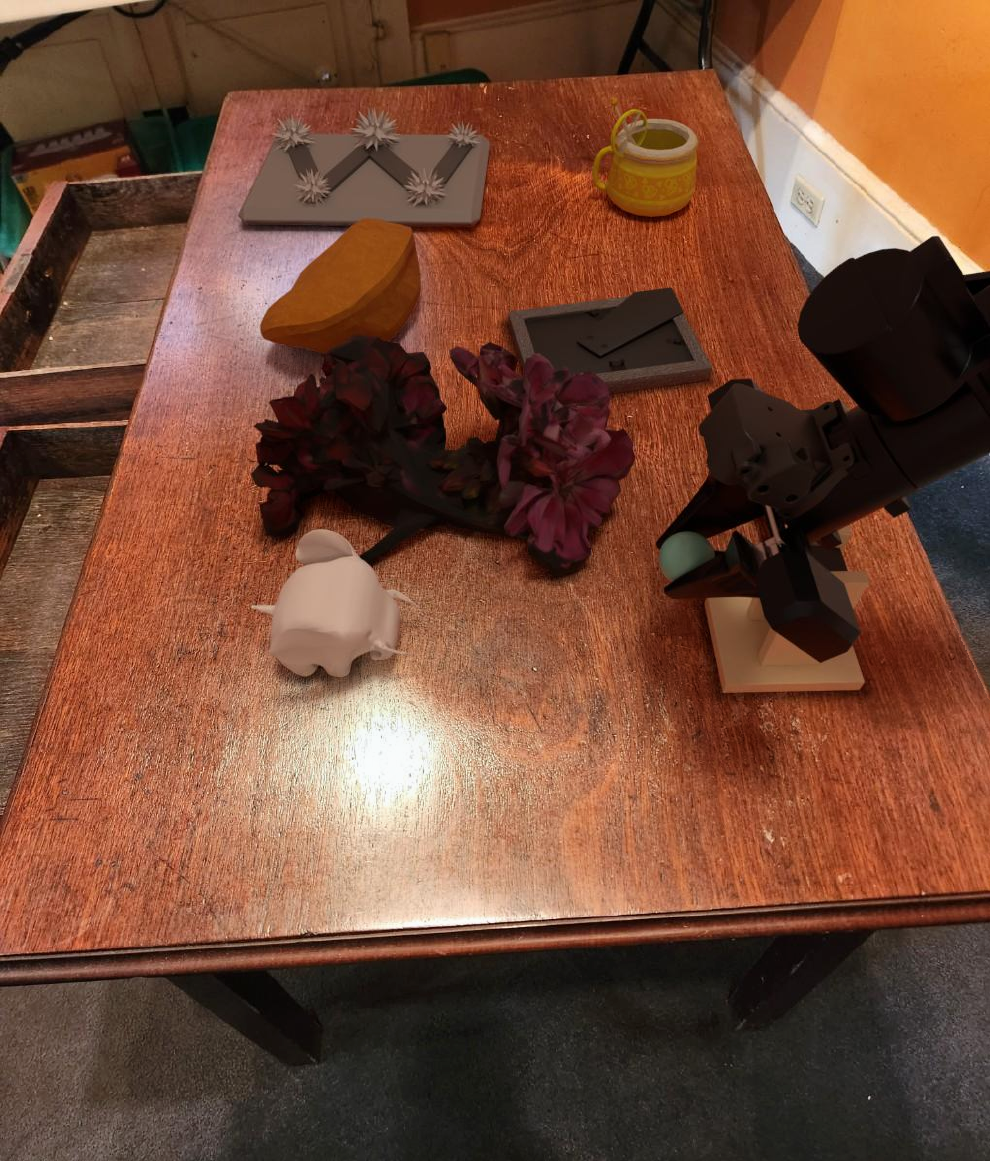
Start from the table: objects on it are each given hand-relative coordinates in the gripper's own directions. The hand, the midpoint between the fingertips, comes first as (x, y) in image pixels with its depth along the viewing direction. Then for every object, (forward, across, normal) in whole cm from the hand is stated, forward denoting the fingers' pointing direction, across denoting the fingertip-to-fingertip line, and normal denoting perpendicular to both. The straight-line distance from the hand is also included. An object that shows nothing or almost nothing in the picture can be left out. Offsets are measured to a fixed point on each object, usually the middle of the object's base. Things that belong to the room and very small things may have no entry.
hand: (663, 570), depth 52 cm
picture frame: (+7, -36, +7) cm, 38 cm away
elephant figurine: (+23, -1, -9) cm, 25 cm away
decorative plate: (+26, -72, -12) cm, 77 cm away
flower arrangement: (+18, -17, -4) cm, 25 cm away
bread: (+26, -42, -12) cm, 51 cm away
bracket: (0, 0, +14) cm, 14 cm away
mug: (+2, -66, +12) cm, 68 cm away
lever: (-3, 0, +5) cm, 5 cm away
